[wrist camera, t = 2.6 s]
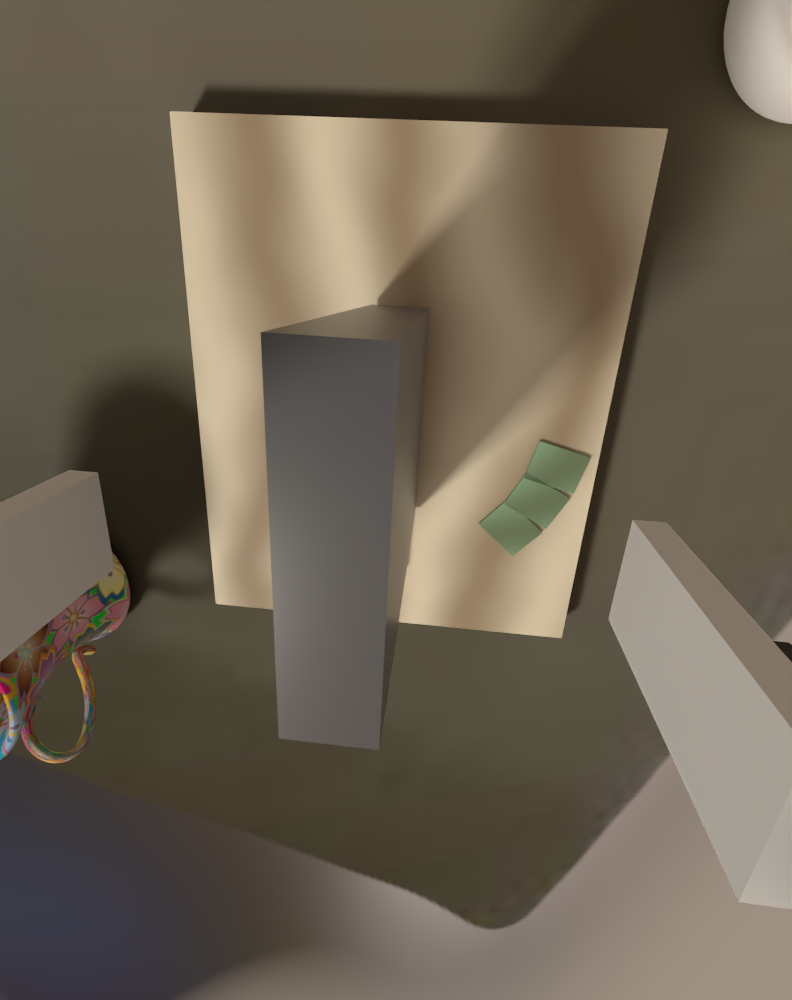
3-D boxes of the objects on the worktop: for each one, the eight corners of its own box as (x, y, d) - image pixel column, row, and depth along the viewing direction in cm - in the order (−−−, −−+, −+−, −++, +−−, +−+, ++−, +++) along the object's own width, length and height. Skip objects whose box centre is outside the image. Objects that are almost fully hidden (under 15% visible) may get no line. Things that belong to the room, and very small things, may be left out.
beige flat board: (225, 590, 32) (214, 605, 31) (186, 121, 23) (167, 110, 22) (556, 622, 31) (561, 639, 29) (654, 138, 22) (669, 127, 20)
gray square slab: (363, 575, 29) (283, 842, 15) (371, 304, 24) (260, 332, 10) (410, 580, 29) (373, 854, 15) (429, 307, 23) (400, 340, 10)
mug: (-28, 559, 33) (-227, 674, 23) (58, 476, 30) (-127, 567, 21) (114, 684, 36) (-10, 833, 26) (205, 620, 33) (103, 759, 24)
